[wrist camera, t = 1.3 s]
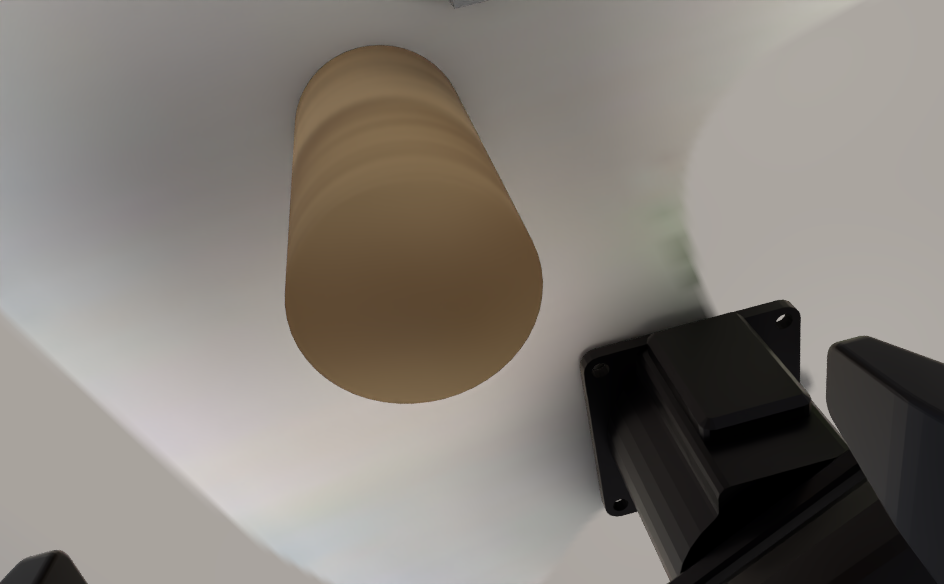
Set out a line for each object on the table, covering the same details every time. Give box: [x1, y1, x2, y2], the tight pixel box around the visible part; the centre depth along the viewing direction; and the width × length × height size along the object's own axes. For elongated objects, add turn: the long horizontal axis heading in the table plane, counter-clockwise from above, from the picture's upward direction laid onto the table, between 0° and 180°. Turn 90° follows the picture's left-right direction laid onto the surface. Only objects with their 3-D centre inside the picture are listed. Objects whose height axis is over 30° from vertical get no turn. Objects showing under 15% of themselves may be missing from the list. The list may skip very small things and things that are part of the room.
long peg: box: [285, 45, 543, 404], centre depth 16 cm, size 4×4×8 cm
